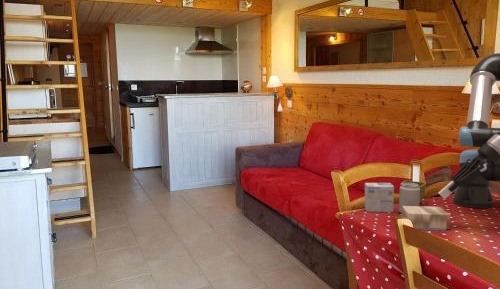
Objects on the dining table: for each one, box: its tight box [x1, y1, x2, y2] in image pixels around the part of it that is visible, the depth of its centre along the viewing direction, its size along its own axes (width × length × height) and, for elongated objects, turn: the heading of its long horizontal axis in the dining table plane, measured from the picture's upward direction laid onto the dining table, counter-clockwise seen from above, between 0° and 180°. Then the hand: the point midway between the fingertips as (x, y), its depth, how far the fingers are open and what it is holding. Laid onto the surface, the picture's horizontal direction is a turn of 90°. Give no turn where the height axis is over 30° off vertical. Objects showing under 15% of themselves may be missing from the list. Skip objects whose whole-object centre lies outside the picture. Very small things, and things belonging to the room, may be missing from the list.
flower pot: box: [399, 180, 427, 204], centre depth 174 cm, size 9×9×9 cm
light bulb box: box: [364, 182, 395, 213], centre depth 165 cm, size 11×7×11 cm, turn 84°
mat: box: [418, 228, 448, 232], centre depth 148 cm, size 13×13×1 cm
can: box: [398, 182, 421, 215], centre depth 160 cm, size 8×8×12 cm
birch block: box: [401, 205, 452, 230], centre depth 147 cm, size 5×10×14 cm
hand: (441, 195), depth 145 cm, fingers closed
